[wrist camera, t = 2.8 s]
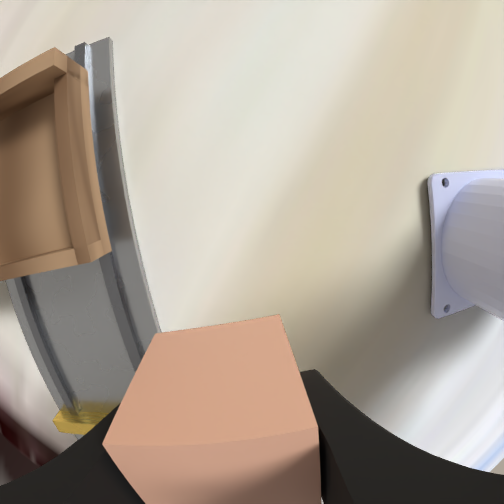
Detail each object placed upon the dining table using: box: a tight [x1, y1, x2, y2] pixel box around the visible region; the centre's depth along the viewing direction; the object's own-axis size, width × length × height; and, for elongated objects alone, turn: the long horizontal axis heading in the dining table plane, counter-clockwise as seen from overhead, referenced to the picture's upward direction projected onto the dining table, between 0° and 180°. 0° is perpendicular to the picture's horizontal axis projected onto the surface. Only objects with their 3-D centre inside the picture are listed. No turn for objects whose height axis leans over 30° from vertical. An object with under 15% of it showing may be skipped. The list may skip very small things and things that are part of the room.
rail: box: [6, 37, 161, 440], centre depth 13 cm, size 9×23×2 cm, turn 10°
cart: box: [0, 47, 112, 281], centre depth 10 cm, size 8×8×4 cm
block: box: [102, 314, 321, 504], centre depth 7 cm, size 4×4×5 cm
